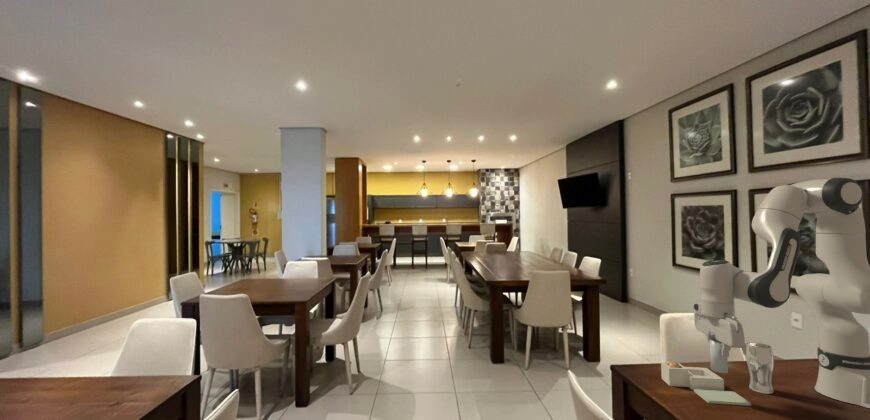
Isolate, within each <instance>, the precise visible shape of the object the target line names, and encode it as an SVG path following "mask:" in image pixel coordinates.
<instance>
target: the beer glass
mask: <svg viewBox="0 0 870 420" xmlns="http://www.w3.org/2000/svg"><path fill="white" fill-rule="evenodd" d="M745 359H746V364H747V365H746V366H747V368H748V371H749V376H750V377H749V379H750V380H749V385H748V386H749V389H750V390H752V391H754V392H757V393H760V394H765V395H772V394H773V393H774V388H773V385H772V376H773V370H774V351H773V347H772V346H771V345H769V344H765V343H761V342H755V341H747V342H745Z"/></svg>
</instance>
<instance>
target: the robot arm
mask: <svg viewBox="0 0 870 420" xmlns="http://www.w3.org/2000/svg"><path fill="white" fill-rule="evenodd" d="M863 199H864V189H863V187H862V186H861V185H860V183H858V181H856V179H854V178H850V177H849V178H848V177H833V178H818V179H817V178H815V179H810V180H805V181H800V182H792V183H789V184H783V185H778V186H775V187H774V188H772V189H771V190H770V191H769V192H768V194H767V195H766V196H765V197H764V199H763V200H762V202H760V205H759V206H758V208H757V210H756V212H755V214H754V216H753V217H752V221H751V228H752V231H753V232H754V234H756V236H757V237H759V238H761V239H762V240H764V241H765V242H768V243H770V244H771V247H772V250H771V253H770V256H769V259H768V263H767V266H766V269H765V270H764V271H761V272H755V271H754V272H753V271H748V270H744V269H742V268H739V267H736V265H733V264H731V263H730V261H728V260H726V259H725V260H724V259H716V260H715V259H713V260H712V259H711V260H707V261H704V262H703V263H702V264H701V266H700V269H699V288H700V291H701V294H700V297H699V298H700V299H699V302H695V303H693V304H692V309H693V310H694V312H693V317H694V318H693V319H694V326H695V329H696V331H697V332H700V333H702V334H704V335H705V338H706V340H707V343H708V349H709V350H710V339H709V336H708V331H709V332H711V333H713V334H715V338H716V340H718V341H720V342H721V345H722V350H720V355H722V356H724V357H727V358H728V357H730V351H731V349H732V348H734V349H743V348H745V347H746V341H745V334H744V328H743V325H742V323H741V321H739V320H738V317H736V312H735V310H736V309H735V299H738V300H741V301H745V302H747V303H752V304H756V305H759V306H761V307H765V308H769V309H776V308H779V307H781V306H783V305H784V304H786V303H787V301H788V300H789V298H790V296H791V287H792V286H791V284H792V278H793V275H794V272H795V267H796V265H797V260H798V258H799V254H800V250H801V245H802V237H801V234H800V233H799V232H798V229H799V226H800V223H801V222H802V219H803V217H804V214H815V216H816V225H815V255H816V257H817V258H818V259H819V260H820V261H822V263H824V264H825V266H826V267H827V269H828V271H829V273H821V272H820V273H807V274H803V275H801V276H799V277H798V279H797V280H796V281H795V284H794V285H795V286H794V289H795V291H796V293H797V295H798V296H799V297H801V299H803V301H804V302H805V303H806V304H807V306H808V308H809V309H810V310H811V313H812V315H813V317H814V320H815V323H816V327H817V328H816V329H817V336H818V347H817V361H818V364H819V365H818V374H817V379H816V383H815V386H814V390H815V391H816V392H818V393H819V394H821V395H823V396H826V397H828V398H831V399H834V400H836V401H837V400H838V401H840V402H844V403H849V404H852V405H856V406H861V407H863V408H867V409H870V336H869V335H870V334H869V332H868V330H867V329H866V327H865V326H863V324H861V323H860V322H859V321H858V320H857V319H856V317H854V314H853V313H855V314H860V315H870V264H869V260H868V257H867V243H866V242H867V241H866V238H867V237H866V223H865V218H864V214H863V211H862V208H861V207H860V206H861V204H862V202H863Z"/></svg>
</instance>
